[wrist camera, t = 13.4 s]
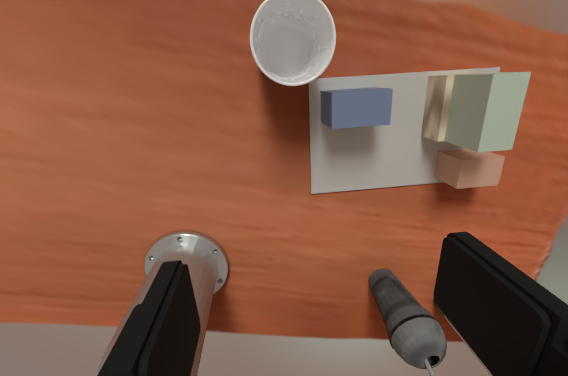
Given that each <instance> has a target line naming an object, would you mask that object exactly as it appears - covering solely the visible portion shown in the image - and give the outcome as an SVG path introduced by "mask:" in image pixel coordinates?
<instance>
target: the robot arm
mask: <svg viewBox="0 0 568 376" xmlns="http://www.w3.org/2000/svg"><path fill="white" fill-rule="evenodd" d="M215 249H216V250H215ZM144 270H145V274H146V279H145V280H144V282H143V284H142V286H141V288H140V289H139V291H138V293H137V295H136V297H135V298H134V300H133V302H132V304H131V305H130V307H129V309H128V311H127V313H126V314H125V316H124V318H123V320H122V322H121V323H120V325H119V327H118V329H117V331H116V333H115V334H114V336H113V338H112V340H111V341H110V343H109V345H108V347H107V349H106V351H105V353H104V355H103V357H102V360H101V363H100V366H99V371H98V375H97V376H197V372H198V368H199V363H200V357H201V353H202V347H203V343H204V338H205V333H206V328H207V323H208V318H209V313H210V308H211V303H212V298H213V294H215V293H216V292H217V291H218V290H219V289H220V288H221V287H222V286H223V284H224V283H225V280H226V278H227V274H228V260H227V257H226V254H225V252H224V251H223V249H222V248H221V247H220V246H219V245H218V244H217V243H216V242H215V241H214V240H212V239H211V238H209V237H207V236H205V235H203V234H199V233H195V232H187V231H184V232H175V233H171V234H168V235H166V236H163V237H162V238H160V239H159V240H157V241H156V242H155V243H154V244H153V245H152V247H151V248H150V250H149V251H148V253H147V255H146V258H145V263H144ZM434 300H435V303H436V305H437V306H438V307H439V309H440V310H441V311H442V312H443V314H444V315H445V316H446V317H447V319H448V320H449V321H450V323H451V324H452V325H453V326H454V328H455V329H456V330H457V331H458V333H459V334H460V335H461V336H462V338H463V339H464V340H465V341H466V343H467V344H468V345H469V346H470V348H471V349H472V350H473V351H474V353H475V354H476V355H477V357H478V358H479V359H480V360H481V362H482V363H483V364H484V365H485V367H486V368H487V369H488V370H489V372H490V373H491V374H492V375H493V376H568V305H567V304H566V303H564V302H563V301H561V300H560V299H559V298H557V297H556V296H555V295H553V294H552V293H551V292H549V291H548V290H547V289H545V288H544V287H542V286H541V285H540V284H538V283H537V282H536V281H534V280H533V279H531V278H530V277H529V276H527V275H526V274H525V273H523V272H522V271H520V270H519V269H518V268H516V267H515V266H514V265H512V264H511V263H509V262H508V261H507V260H505V259H504V258H503V257H501V256H500V255H498V254H497V253H496V252H494V251H493V250H492V249H490V248H489V247H487V246H486V245H485V244H483V243H482V242H481V241H479V240H478V239H476V238H475V237H474V236H472V235H471V234H470V233H468V232H457V233H450V234H448V235H447V238H444V240H443V244H442V250H441V255H440V261H439V267H438V273H437V278H436V284H435V290H434Z"/></svg>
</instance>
